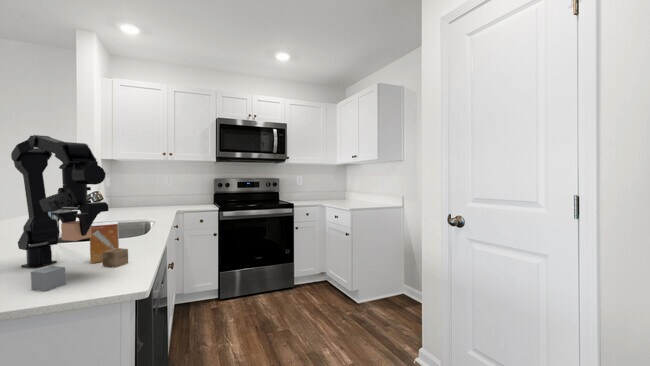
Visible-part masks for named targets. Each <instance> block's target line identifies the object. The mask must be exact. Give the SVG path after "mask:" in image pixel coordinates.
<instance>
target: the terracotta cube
mask: <svg viewBox="0 0 650 366" xmlns="http://www.w3.org/2000/svg"><path fill="white" fill-rule="evenodd" d="M60 226H61V241H72V242H75V241H81V240H86V239H90V237H92V236H91V227H90V228H89V230H88V232H87V234H86V235H85V236H82V235H81V231H80V223H79V220H76V221H73V222H67V223H62V222H61V223H60Z"/></svg>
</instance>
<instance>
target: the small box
mask: <svg viewBox="0 0 650 366" xmlns="http://www.w3.org/2000/svg"><path fill="white" fill-rule="evenodd" d="M91 236H92V237H90V238H89V255H90V256H89V257H90V264H94V263H103V258H102V252H104V251H107V250H111V249H115V248H120V239H119V238H120V237H119V221H106V222H105V221H103V222H96V223H94V222H93V223H92V225H91Z"/></svg>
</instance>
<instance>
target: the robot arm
mask: <svg viewBox="0 0 650 366" xmlns="http://www.w3.org/2000/svg"><path fill="white" fill-rule="evenodd" d="M53 154H54V157H55V158H56V159H58V160H59V161H61V163H62V164H61V165H59V167H58V168H59V169H60V170H61V176H62V177H61V178H62V180H61V181H62V187H58V189H57V193H55V194H52V195H49V196H47V195H46V194H47V193H46V186H45V180H44V171H45V170H46V169H47V167H48V165H49V162H48V161H49V160H50V159H51V158H52V156H53ZM10 156H11V160H12V161H13V164H14V168H15V169H16V170H17V171H18V172H19V173H20V174H21V175H22V176H23V183H24V184H23V185H24V191H25V198H26V206H27V213H28V219H27V220H26V222H25V224H24V225H23V227H22V228H23V232H22V233H21V236H20V237H19V239H18V242H17V245H18V246H17V247H18V249H19V250H23V251H25V252H26V263H25V264H21V267H22V268H31V269H36V268H40V267H45V266H50V265H51V264H55V263H57V260H53V256H52V255H53V254H52V252H53V251H52V246H57V245H58V243H59V239H60V238H59V237H60V230H59V227H58V221H57V220H56V218H54V219H53V218H52V217H51V216H50V215H49V213H50V214H51V215H53V216H55V217H57V218H58V219H59V220H60V222H61V223H67V222H73V221H77V219H78V221H79V223H80V231H81V235H82V236H85V235H86V234H87V232H88V230H89V228H90V227H91V225H92V223H94V221H95V219H96V218H97V217H98V215H100V214H101V213H104V212H105V213H106V212H109V204H108V203H107V202H105V201H93V202H92V200H91V199H88V191H92V188H91V186H88V185H92V186H93V185H101V183H103V182H104V180H105V179H106V176H107V175H106V172H105V170H104V168H103V167H101V165H99V161H97V158H96V157H95V155H94V154H93V151H92V150H91V148H90V146H89V145H88V144H87V143H84V142H83V143H82V142H72V141H71V142H70V141H69V142H68V141H64V140H63V141H62V140H59V139H57V138H52V137H51V136H49V135H38V134H33V135H30V136H29V137H28V138H27V139H26V140H24V141H22V142H19V143H17V144H16V145H15V147H14V149H12V151H11V155H10ZM78 212H80V213H78Z"/></svg>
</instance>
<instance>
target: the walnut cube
mask: <svg viewBox="0 0 650 366" xmlns="http://www.w3.org/2000/svg"><path fill="white" fill-rule="evenodd" d="M102 258H103V262H102V267H103V266H104V268H112V267H114V269H116V268H119V267H122V266H124V265H127V264H129V248H122V247H121V248H120V247H119V248H115V249H111V250H107V251H104V252H102ZM115 267H116V268H115Z"/></svg>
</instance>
